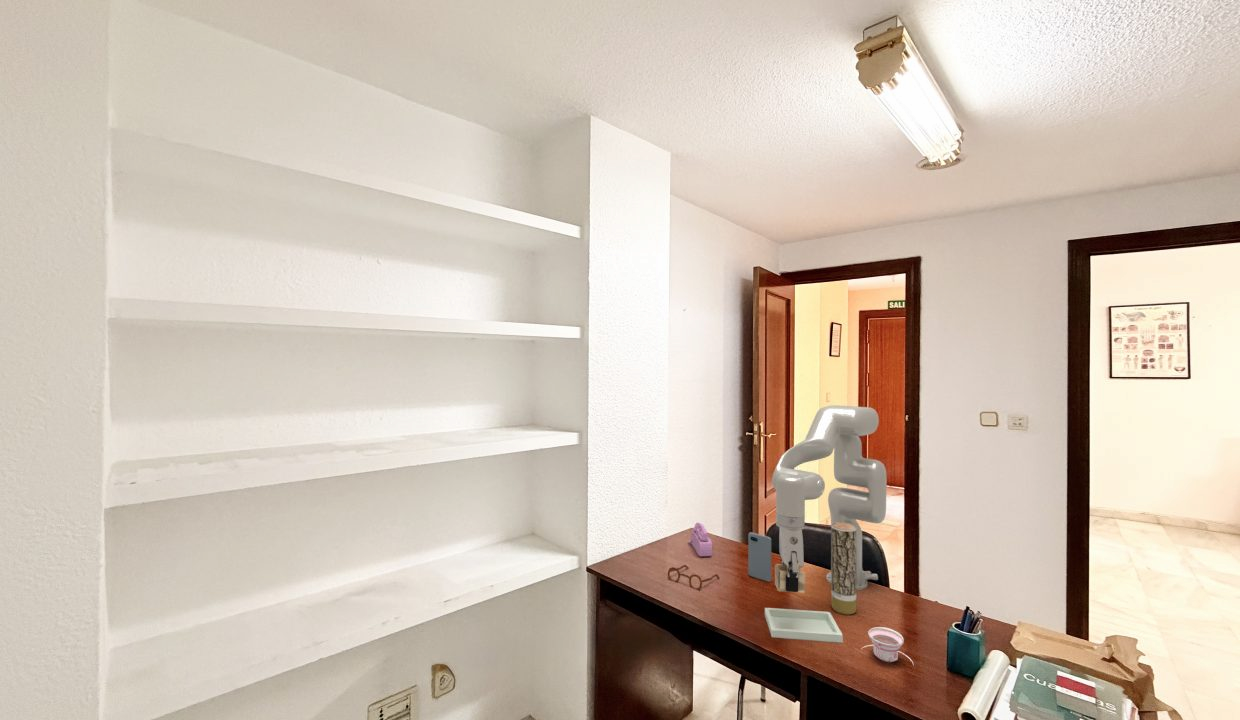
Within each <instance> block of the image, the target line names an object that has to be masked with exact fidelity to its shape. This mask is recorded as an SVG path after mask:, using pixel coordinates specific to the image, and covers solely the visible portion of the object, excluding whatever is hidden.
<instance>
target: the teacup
mask: <svg viewBox="0 0 1240 720" xmlns="http://www.w3.org/2000/svg"><path fill="white" fill-rule="evenodd" d="M867 633H868V637H869V639H870V640H871V643H872V644H869V645H865V646H863V647H862V649H863V648H867V647H873V655H875V657H877V658H878V659H879V660H880V661H882V662H886V663H893V662H896V661H898V659H899V653H900V654H902V655H904V656H905V657H907V658H908V659H909V660H910V662H912V665H913V666H915V665H914V661H913V660H912V659H911V658H910V657H909V656H908V655H907V654H905V653H904V652H902V651H900V650H901V647H902V646H903V645H904V641H905V639H904V637H903V635H902V634H901V633H900V632H898V631H896V630H894V629H892V628H889V627H883V626H876V627H872V628H870V629H869V630H868V631H867Z"/></svg>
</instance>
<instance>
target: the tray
mask: <svg viewBox="0 0 1240 720" xmlns="http://www.w3.org/2000/svg"><path fill="white" fill-rule="evenodd" d="M764 617H765V620H766V624H767V628H768V630H769V633H770V637H771V638H776V639H778V638H779V639H787V640H788V639H789V640H800V641H801V640H802V641H814V642H822V643H823V642H824V643H837V644H843V642H844V641H843V640H844V637H843V636H844V635H843V633H842V631H841V629H840V628H839V626H838V624H837V622H836V620H835V619H834V617H833V615H832V613H831V612H830V611H821V610H820V611H819V610H807V609H805V610H804V609H803V610H802V609H790V608H777V607H776V608H775V607H764Z"/></svg>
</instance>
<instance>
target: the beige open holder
mask: <svg viewBox="0 0 1240 720" xmlns="http://www.w3.org/2000/svg"><path fill="white" fill-rule="evenodd" d="M790 569H792V567H789V572H790ZM786 576H787V566H786V565H784V564H782V563H781V564H780V563H775V564H774V584H775V586H776V590H777V591H778V592H787V593H790V592H789V591H786ZM797 593H801V594H804V593H805V594H806V572H804V571H802V567H801V566H799V564H798V592H797Z"/></svg>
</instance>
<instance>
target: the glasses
mask: <svg viewBox="0 0 1240 720" xmlns="http://www.w3.org/2000/svg"><path fill="white" fill-rule="evenodd" d="M683 568H686V569H687V570H689V569H690V568H689V566H688V565H687V564H684V565H681V566H680V567H674V566H672V567H670V568H669V569H668V570H667V571H668V572H667V578H668V580H669V581H672V582H673V583H678V582H680V578H681V576H682V577H685V578H688V584H689V587H690V588H691V589H694V590H697V591H699V590H700V589H702V586H703V583H705V582H709V581H712V580H713V579H714V578H715V577H716V579H718V580H720V576H719V575H718V573H715V574H713V575H712V576H711V577H709V578H705V579H702V578H701V577H700V575H698V574H696V573H695V574H694V573H693V574H690V576H689V575H688V574H685V573H681V572H680V570H682V569H683ZM672 572H677V578H676V580H674V579H672V577H671V576H670V574H671V573H672ZM693 577H696V578H697V579H698V580H699V587H697V588H696V587H694V586H693V584H692V578H693Z"/></svg>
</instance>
